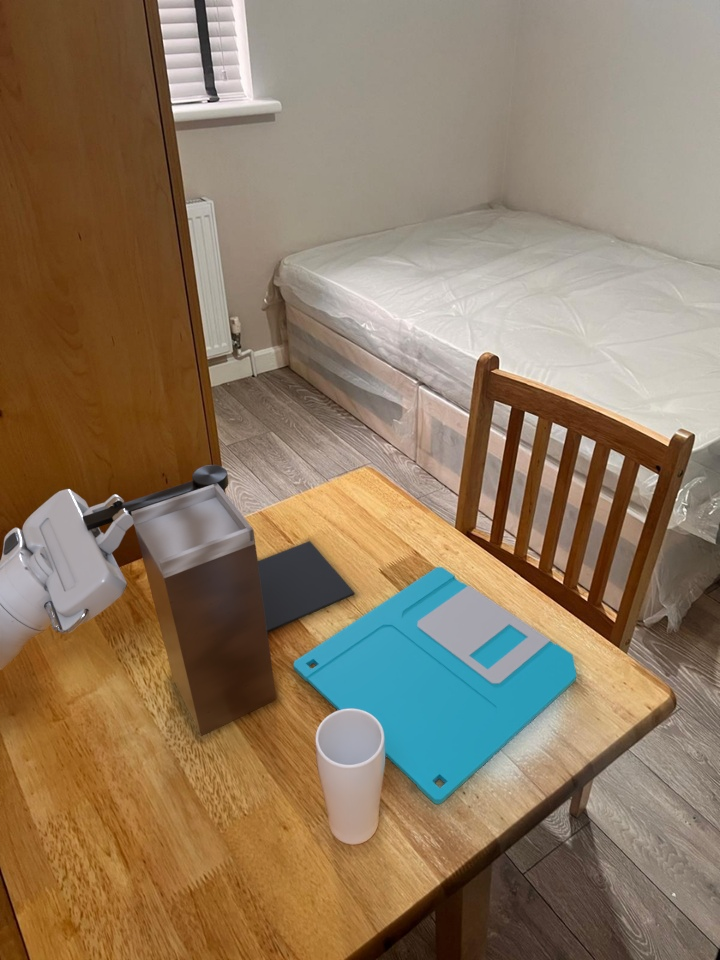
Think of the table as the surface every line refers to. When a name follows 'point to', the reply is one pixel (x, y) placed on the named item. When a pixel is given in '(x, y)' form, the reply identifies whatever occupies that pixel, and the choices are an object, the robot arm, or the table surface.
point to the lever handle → (162, 495)
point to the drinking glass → (351, 772)
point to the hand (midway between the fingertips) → (125, 506)
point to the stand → (208, 603)
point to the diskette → (440, 677)
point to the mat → (298, 585)
